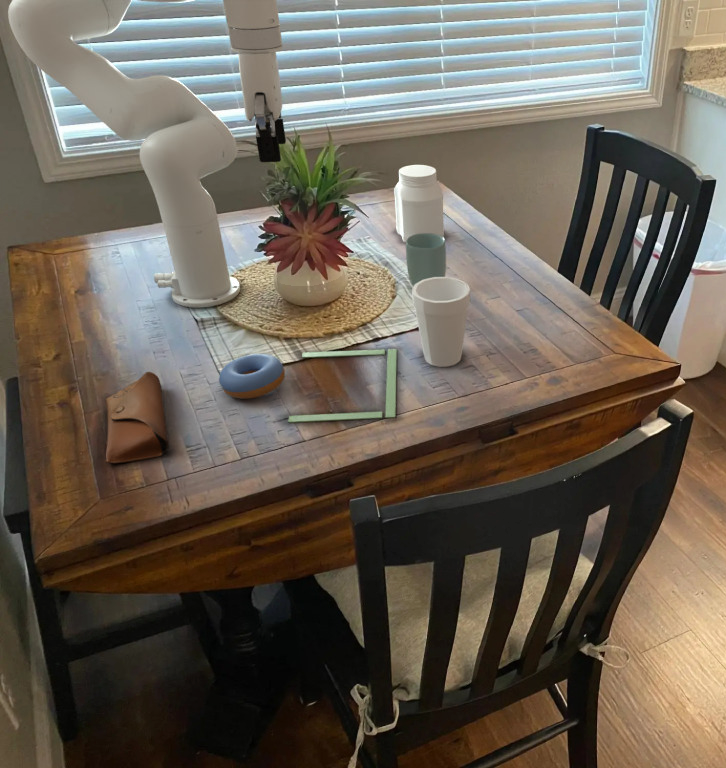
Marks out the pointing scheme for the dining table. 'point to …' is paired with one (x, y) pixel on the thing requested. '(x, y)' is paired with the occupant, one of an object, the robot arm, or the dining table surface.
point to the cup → (425, 256)
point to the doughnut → (252, 376)
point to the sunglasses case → (136, 422)
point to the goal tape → (364, 415)
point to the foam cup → (441, 318)
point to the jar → (418, 202)
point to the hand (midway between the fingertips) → (273, 152)
